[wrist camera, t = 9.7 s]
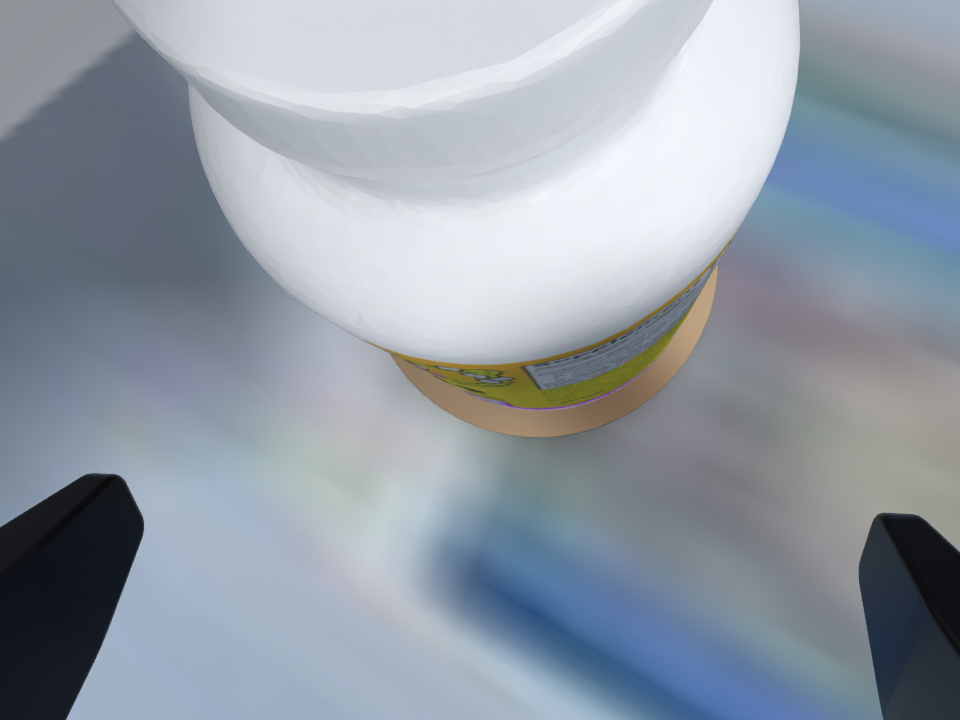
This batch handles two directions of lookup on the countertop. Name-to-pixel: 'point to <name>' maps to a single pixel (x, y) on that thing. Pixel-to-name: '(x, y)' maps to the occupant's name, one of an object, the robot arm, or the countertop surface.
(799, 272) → the countertop surface
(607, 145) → the supplement bottle
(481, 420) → the cork coaster
